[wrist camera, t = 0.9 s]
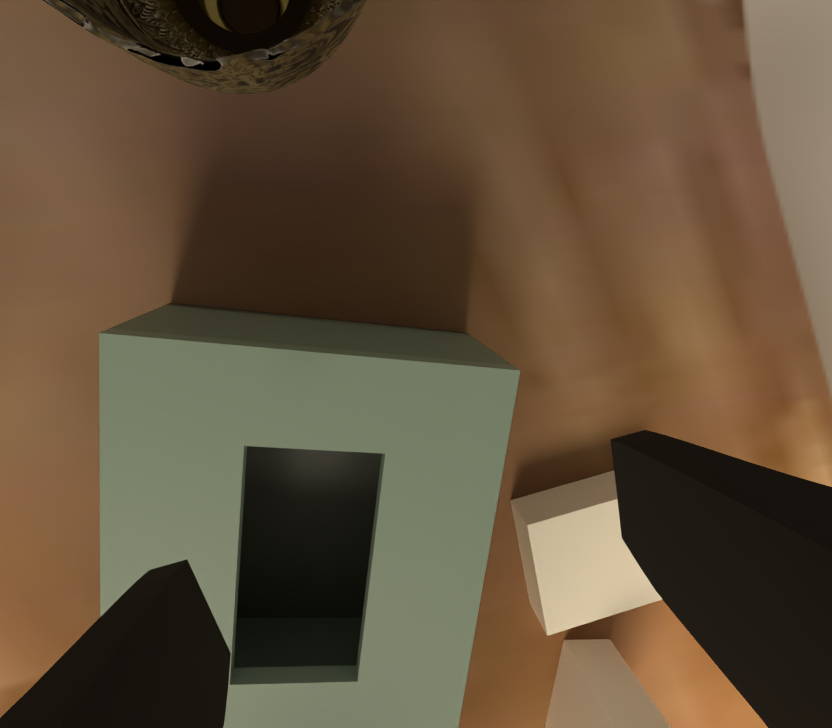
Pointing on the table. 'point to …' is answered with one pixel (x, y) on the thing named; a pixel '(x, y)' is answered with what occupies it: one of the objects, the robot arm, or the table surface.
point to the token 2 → (599, 690)
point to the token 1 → (577, 554)
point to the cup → (219, 39)
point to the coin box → (309, 501)
